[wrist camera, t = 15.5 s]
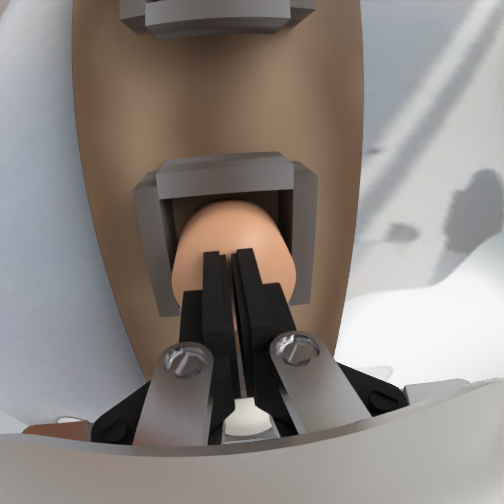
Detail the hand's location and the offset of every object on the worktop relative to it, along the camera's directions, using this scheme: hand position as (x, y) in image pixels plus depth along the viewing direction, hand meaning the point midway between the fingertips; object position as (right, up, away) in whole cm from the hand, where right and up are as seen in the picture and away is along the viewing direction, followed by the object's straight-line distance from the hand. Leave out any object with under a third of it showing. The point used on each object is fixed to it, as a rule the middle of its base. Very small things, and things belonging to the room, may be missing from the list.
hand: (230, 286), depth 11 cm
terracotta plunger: (0, +1, +3) cm, 3 cm away
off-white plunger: (0, -9, +10) cm, 14 cm away
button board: (-1, +4, +8) cm, 9 cm away
